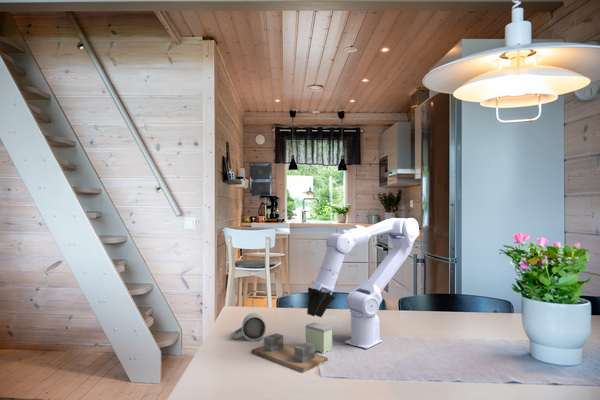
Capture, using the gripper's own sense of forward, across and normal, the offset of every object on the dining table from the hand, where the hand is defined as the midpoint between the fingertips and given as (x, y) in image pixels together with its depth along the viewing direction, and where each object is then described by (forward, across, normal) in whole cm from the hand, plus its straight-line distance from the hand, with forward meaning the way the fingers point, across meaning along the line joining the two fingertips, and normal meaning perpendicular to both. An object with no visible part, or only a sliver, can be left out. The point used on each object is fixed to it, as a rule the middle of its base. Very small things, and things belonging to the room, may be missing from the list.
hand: (314, 315), depth 113 cm
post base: (+13, +3, -2) cm, 13 cm away
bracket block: (+9, -6, +3) cm, 11 cm away
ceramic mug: (+15, -8, -20) cm, 27 cm away
